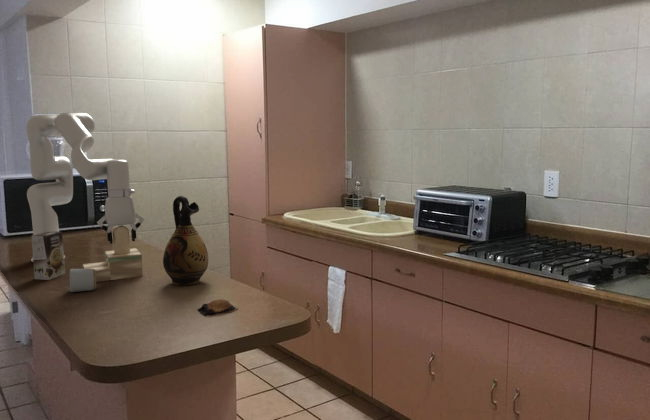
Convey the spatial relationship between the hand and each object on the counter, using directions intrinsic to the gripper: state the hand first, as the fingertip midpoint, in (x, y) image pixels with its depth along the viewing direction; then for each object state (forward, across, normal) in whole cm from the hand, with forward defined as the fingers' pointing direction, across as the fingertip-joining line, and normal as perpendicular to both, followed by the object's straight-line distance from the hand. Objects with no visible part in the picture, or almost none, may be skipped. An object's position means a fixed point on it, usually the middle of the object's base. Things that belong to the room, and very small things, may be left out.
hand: (122, 241), depth 209 cm
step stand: (+12, +4, 0) cm, 13 cm away
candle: (+4, 0, 0) cm, 4 cm away
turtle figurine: (+13, -18, +58) cm, 62 cm away
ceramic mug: (+13, +15, +15) cm, 25 cm away
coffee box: (+12, +24, -10) cm, 29 cm away
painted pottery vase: (+12, -18, +22) cm, 31 cm away
